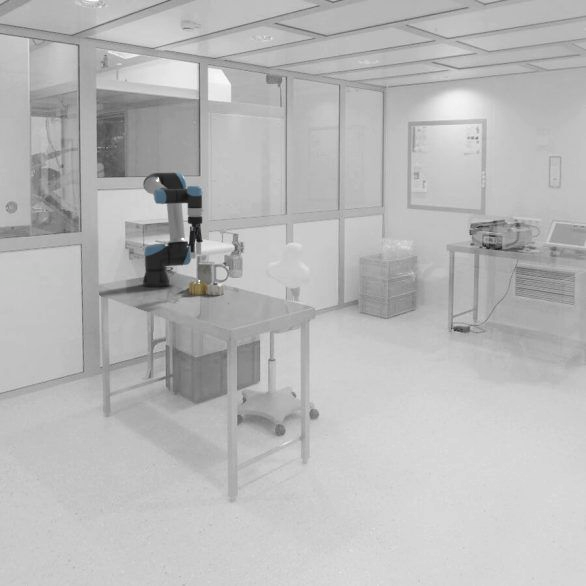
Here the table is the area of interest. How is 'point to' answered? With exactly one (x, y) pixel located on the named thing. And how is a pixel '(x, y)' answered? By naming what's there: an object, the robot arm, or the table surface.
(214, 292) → the gear
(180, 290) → the table surface
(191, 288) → the brass gear
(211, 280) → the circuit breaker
